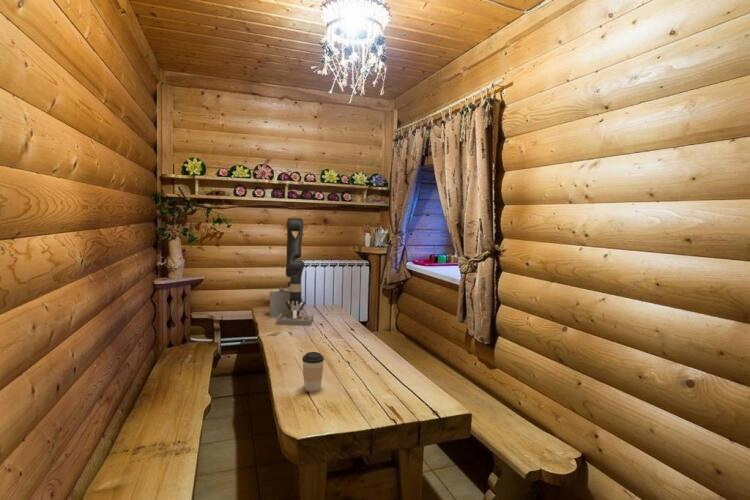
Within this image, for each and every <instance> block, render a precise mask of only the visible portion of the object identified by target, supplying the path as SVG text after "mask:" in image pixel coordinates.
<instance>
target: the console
mask: <svg viewBox="0 0 750 500" xmlns="http://www.w3.org/2000/svg"><path fill="white" fill-rule="evenodd" d="M313 322H314V313H313V314H310V315H309V316H306V315H305V316H304V315H301V316H300V315H299V316H298V317H297V319H293V316H283V313H281V314H280V315H279V316H278V317H276V325H277V326H300V327H301V326H304V327H305V326H306V327H307V326H309V327H310V326H312V324H313Z"/></svg>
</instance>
